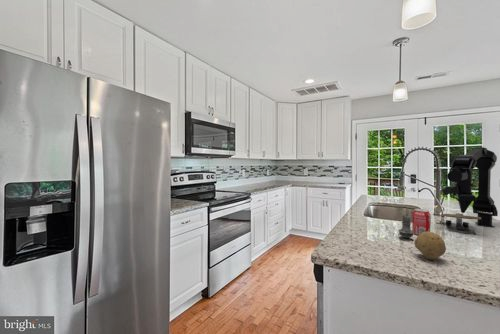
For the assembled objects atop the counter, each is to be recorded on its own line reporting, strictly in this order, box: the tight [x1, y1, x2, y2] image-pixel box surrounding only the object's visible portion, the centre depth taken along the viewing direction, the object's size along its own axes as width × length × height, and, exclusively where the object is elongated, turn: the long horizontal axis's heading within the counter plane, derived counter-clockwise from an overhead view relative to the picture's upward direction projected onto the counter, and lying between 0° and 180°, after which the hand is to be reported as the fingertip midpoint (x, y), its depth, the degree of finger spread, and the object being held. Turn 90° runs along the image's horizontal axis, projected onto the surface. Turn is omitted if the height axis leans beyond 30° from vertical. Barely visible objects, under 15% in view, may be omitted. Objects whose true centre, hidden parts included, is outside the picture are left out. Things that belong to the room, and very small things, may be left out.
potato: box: [413, 231, 447, 261], centre depth 83 cm, size 9×9×10 cm
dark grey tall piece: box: [398, 212, 415, 242], centre depth 104 cm, size 6×6×12 cm
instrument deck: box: [441, 212, 481, 220], centre depth 120 cm, size 22×12×2 cm, turn 146°
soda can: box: [411, 208, 432, 236], centre depth 110 cm, size 7×7×12 cm
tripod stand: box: [444, 218, 477, 236], centre depth 120 cm, size 16×10×5 cm, turn 146°
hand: (462, 212), depth 113 cm, fingers closed
